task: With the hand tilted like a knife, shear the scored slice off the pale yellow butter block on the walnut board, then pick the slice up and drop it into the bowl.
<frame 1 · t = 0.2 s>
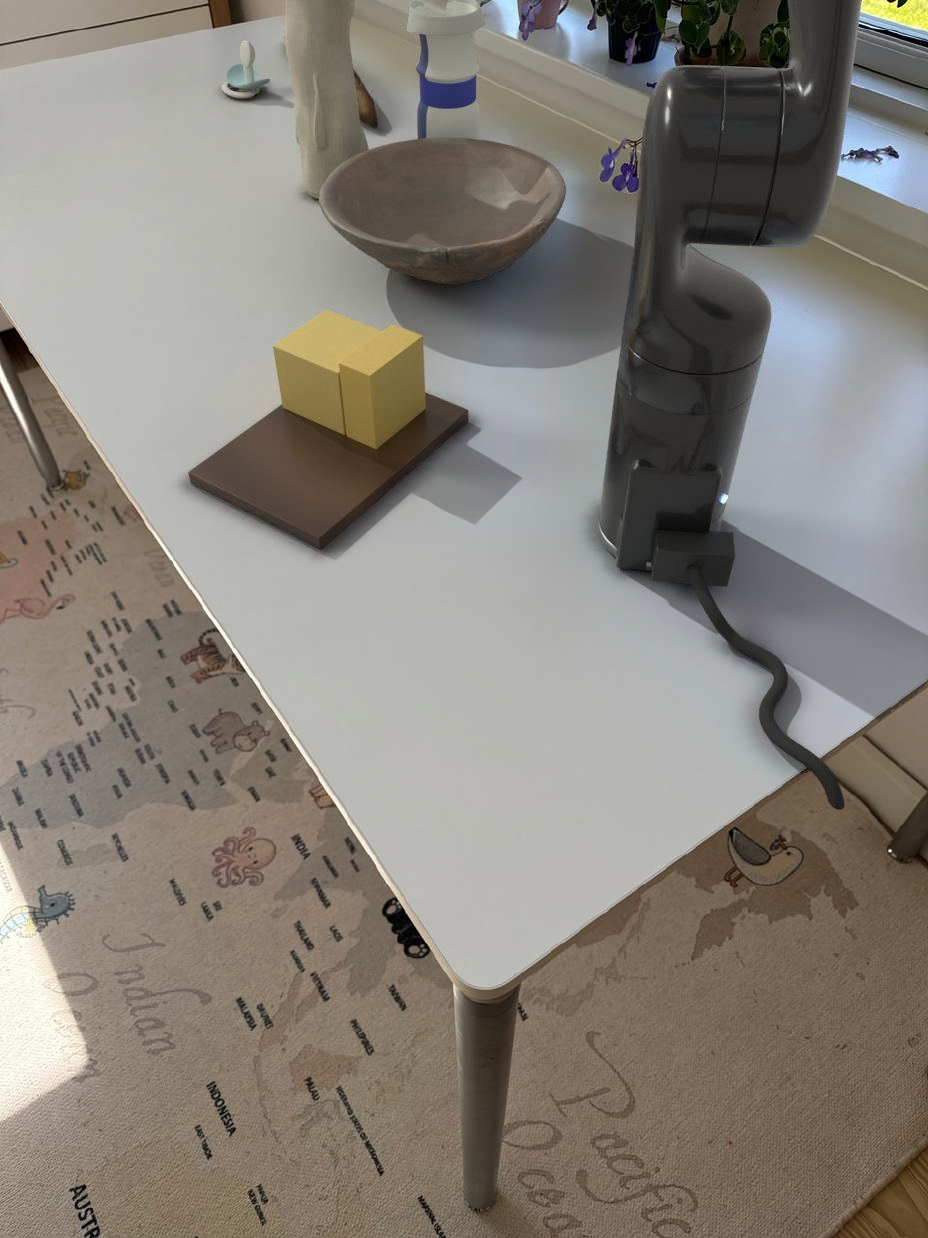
pacifier: (245, 93, 140), on the table
bowl: (444, 265, 107), on the table
water bottle: (447, 189, 119), on the table
butter block: (339, 401, 88), point 1 cm above the table, touching butter board
butter slice: (386, 422, 86), point 1 cm above the table, touching butter board
butter board: (334, 451, 85), on the table
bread: (328, 85, 142), on the table
vase: (336, 191, 119), on the table
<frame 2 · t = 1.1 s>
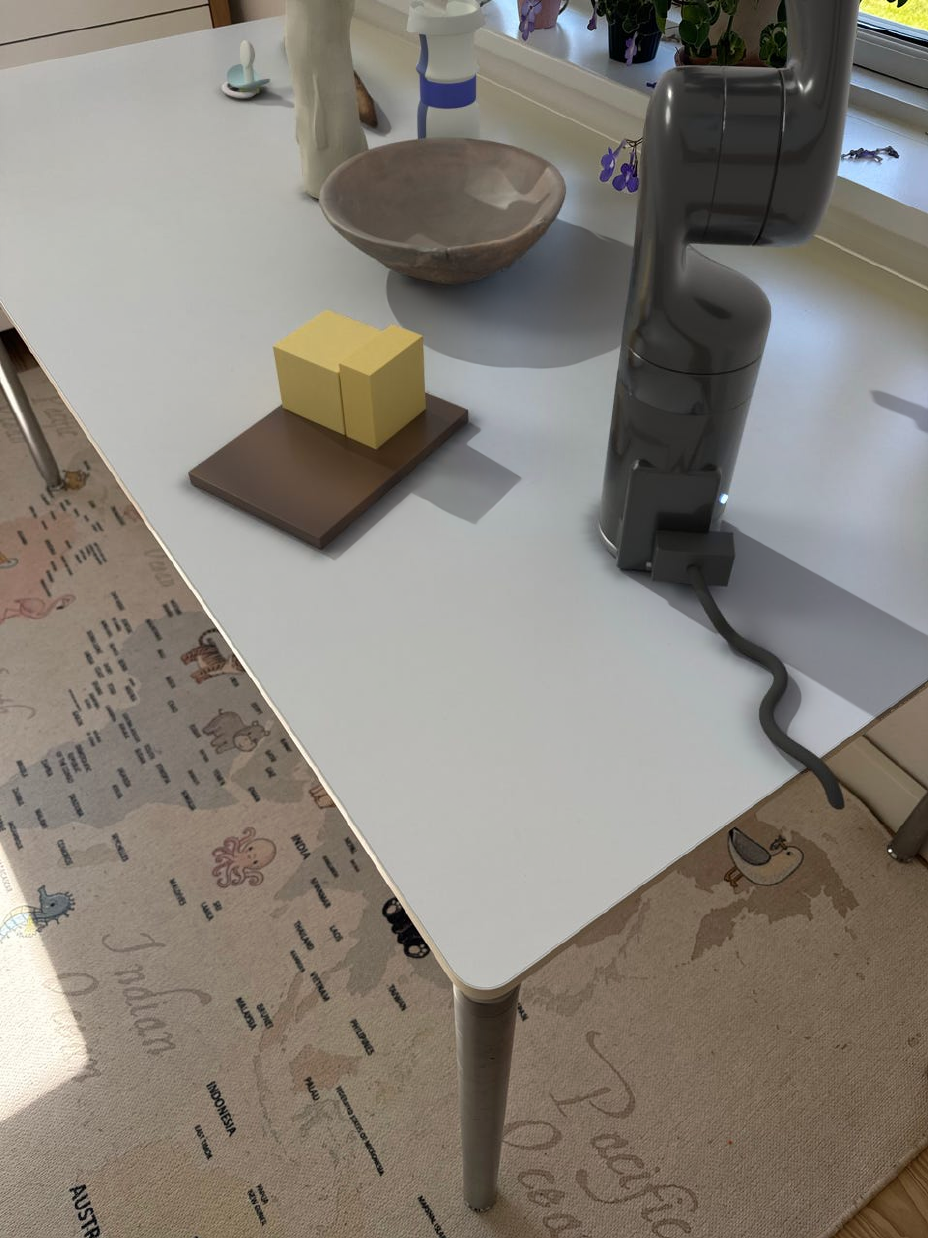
nothing on the table moved.
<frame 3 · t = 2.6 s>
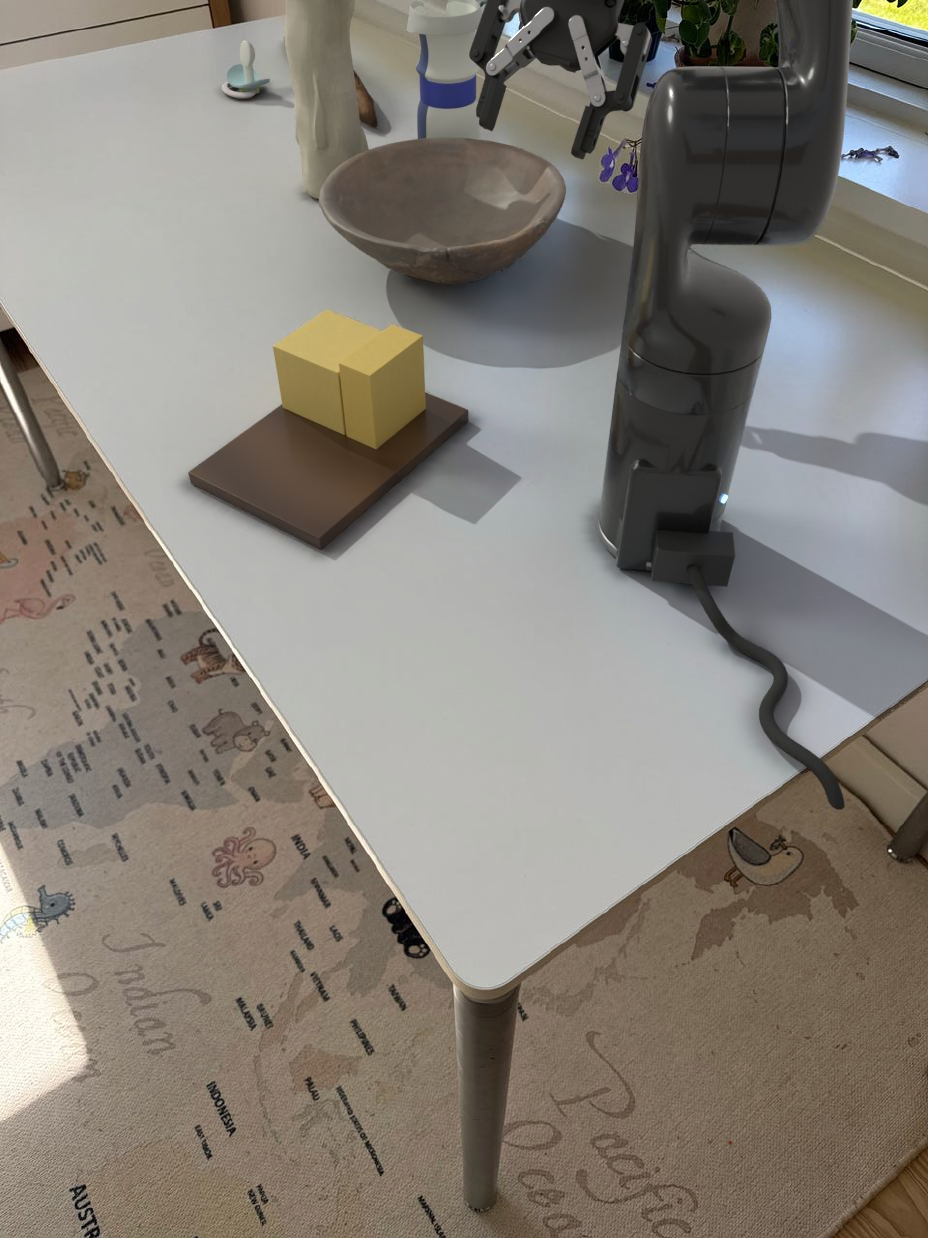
hand: (530, 142, 85), 18 cm above the table, tool tilted 30°, fingers open, 8 cm apart
nothing on the table moved.
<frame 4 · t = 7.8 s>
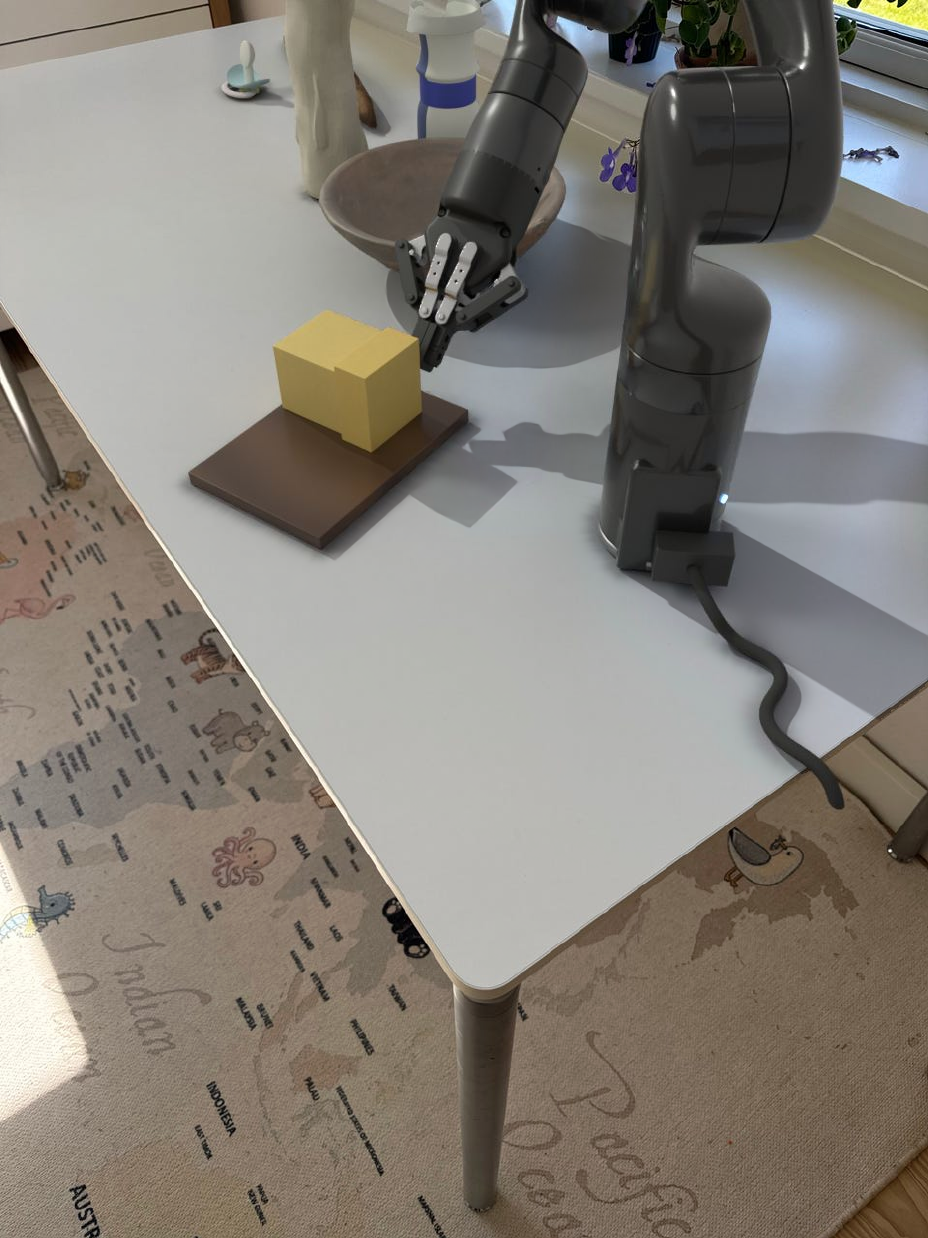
hand: (419, 367, 85), 5 cm above the table, tool tilted 45°, fingers closed
butter slice: (382, 425, 86), point 1 cm above the table, touching gripper
everything else where it was.
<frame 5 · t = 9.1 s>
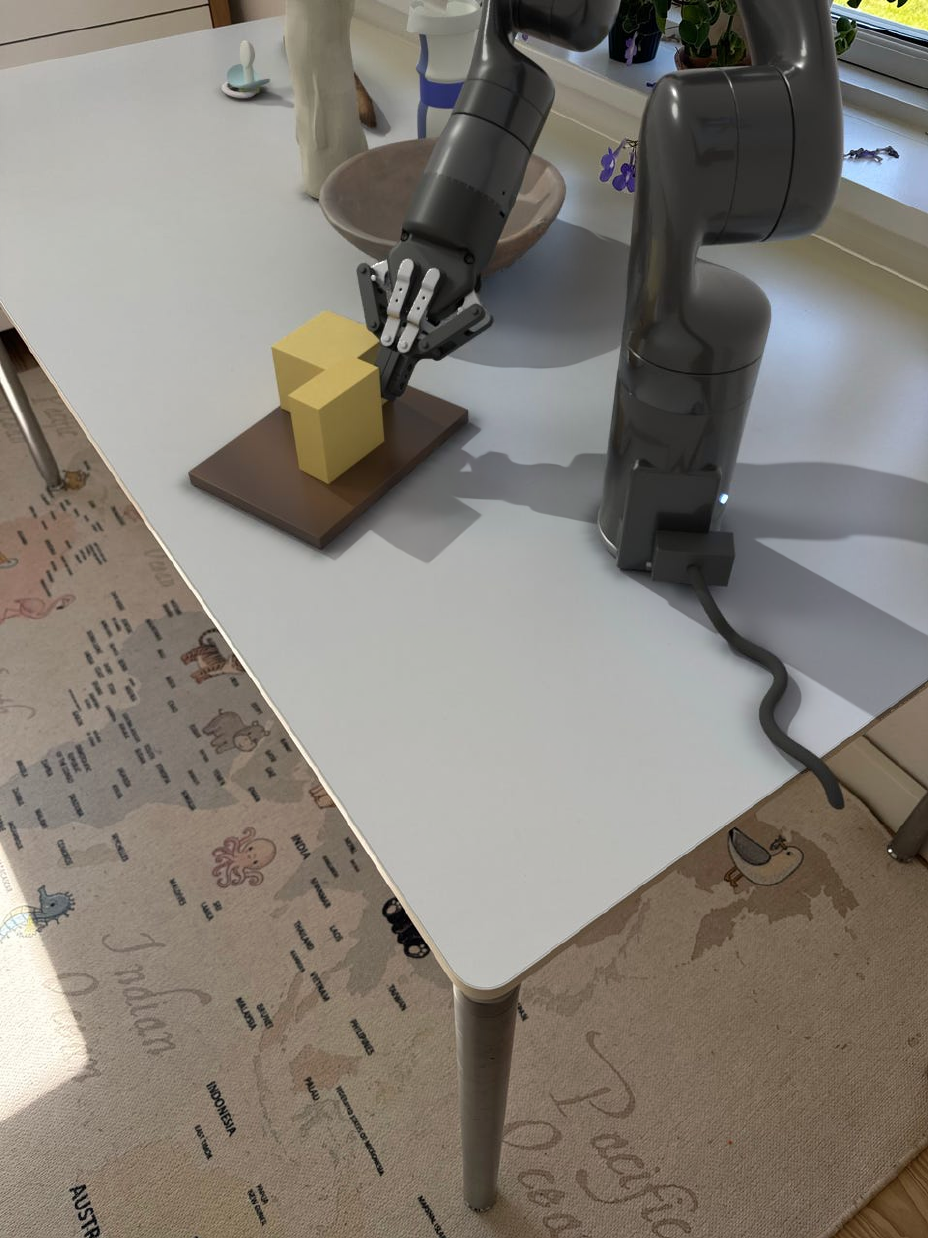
hand: (381, 396, 82), 5 cm above the table, tool tilted 45°, fingers closed
butter block: (337, 402, 88), point 1 cm above the table, touching butter board, hand
butter slice: (342, 455, 83), point 1 cm above the table, touching butter board, gripper
everything else where it was.
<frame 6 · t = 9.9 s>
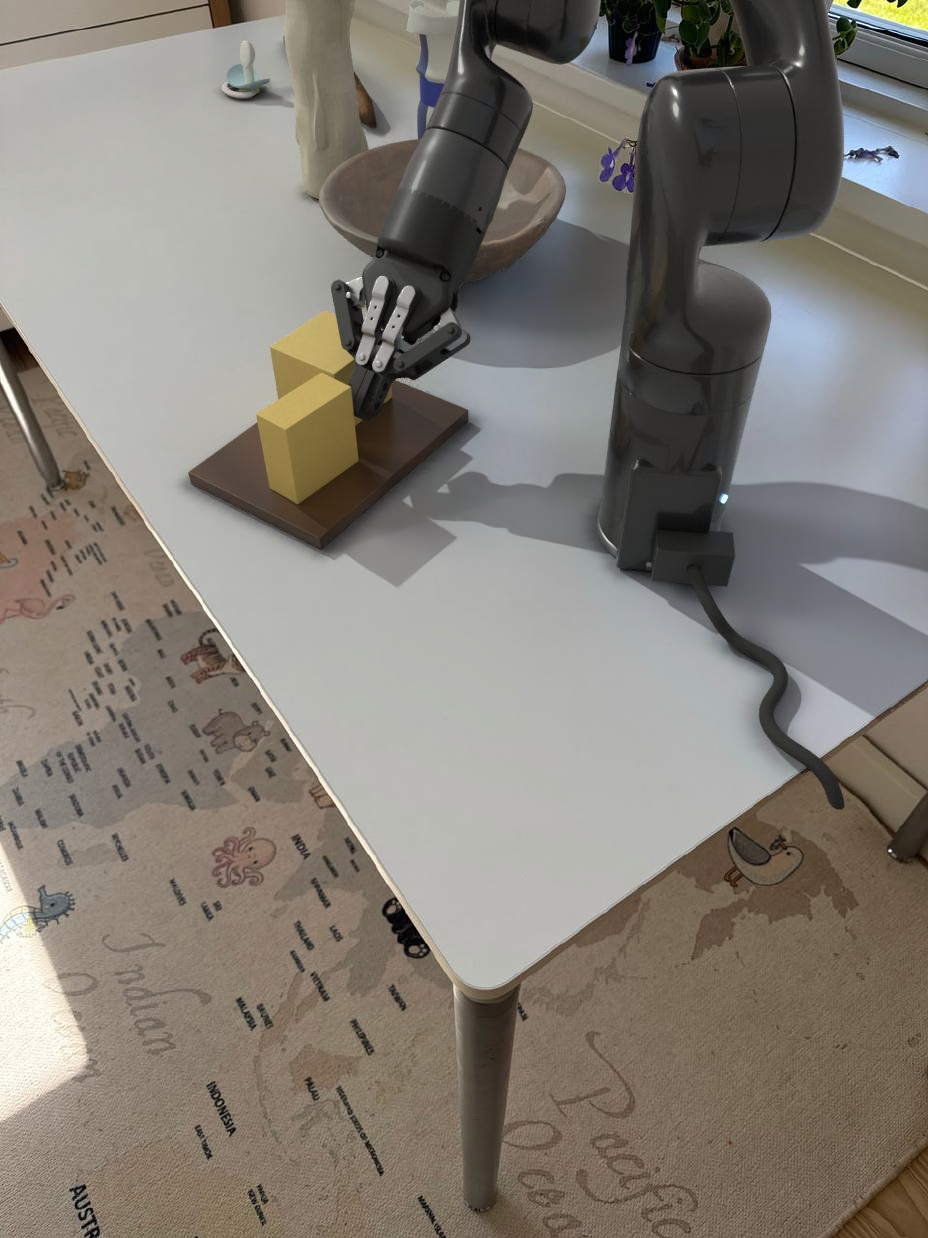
hand: (356, 416, 80), 5 cm above the table, tool tilted 45°, fingers closed
butter block: (336, 403, 88), point 1 cm above the table, touching butter board
butter slice: (314, 474, 81), point 1 cm above the table, touching butter board, gripper
everything else where it was.
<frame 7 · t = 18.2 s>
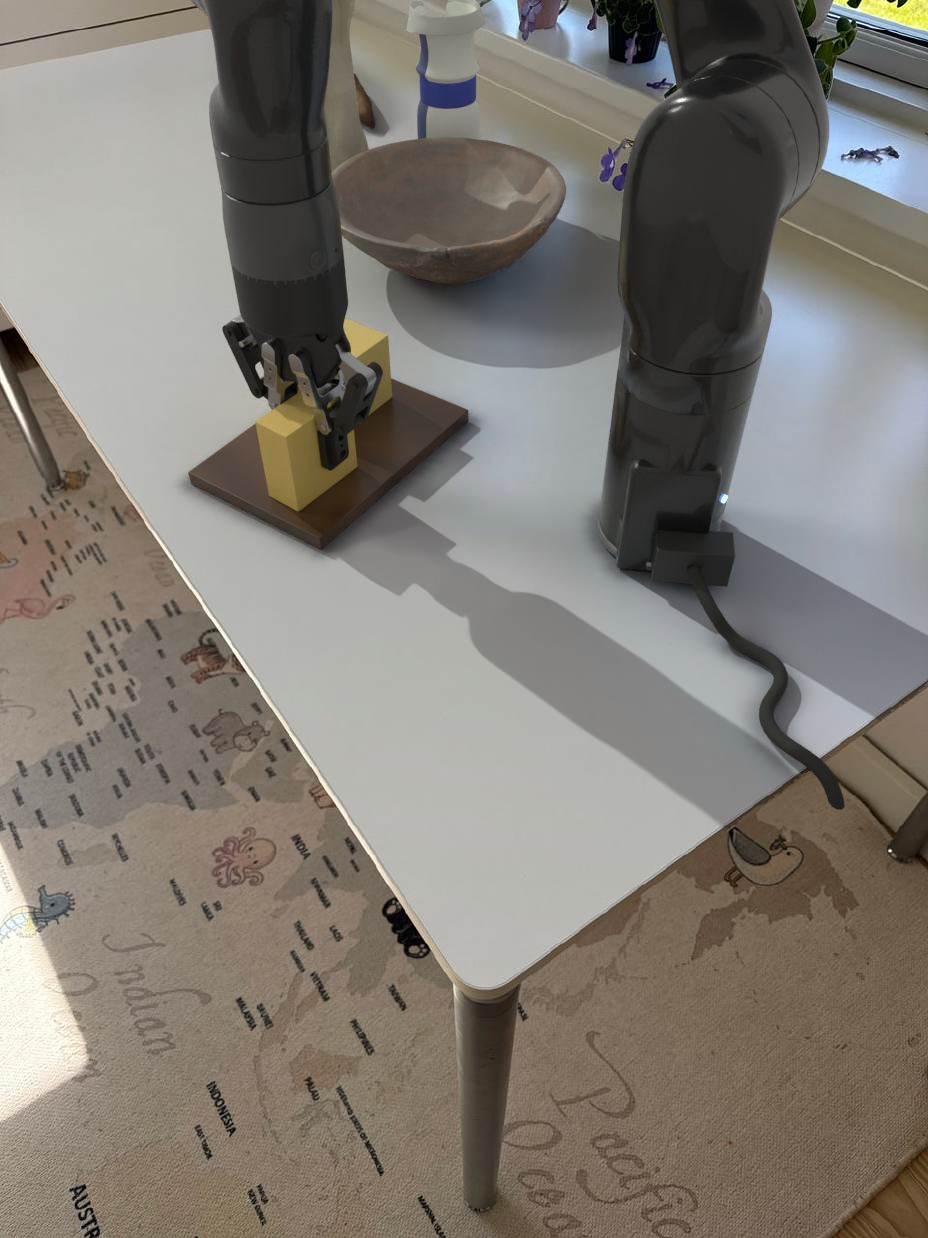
hand: (315, 454, 79), 4 cm above the table, tool pointing down, fingers closed on butter slice, 3 cm apart
butter slice: (314, 481, 81), point 1 cm above the table, touching butter board, gripper
everything else where it was.
when the fingers open (11 cm above the table, at t = 24.9 s): butter slice stays where it is, resting on bowl.
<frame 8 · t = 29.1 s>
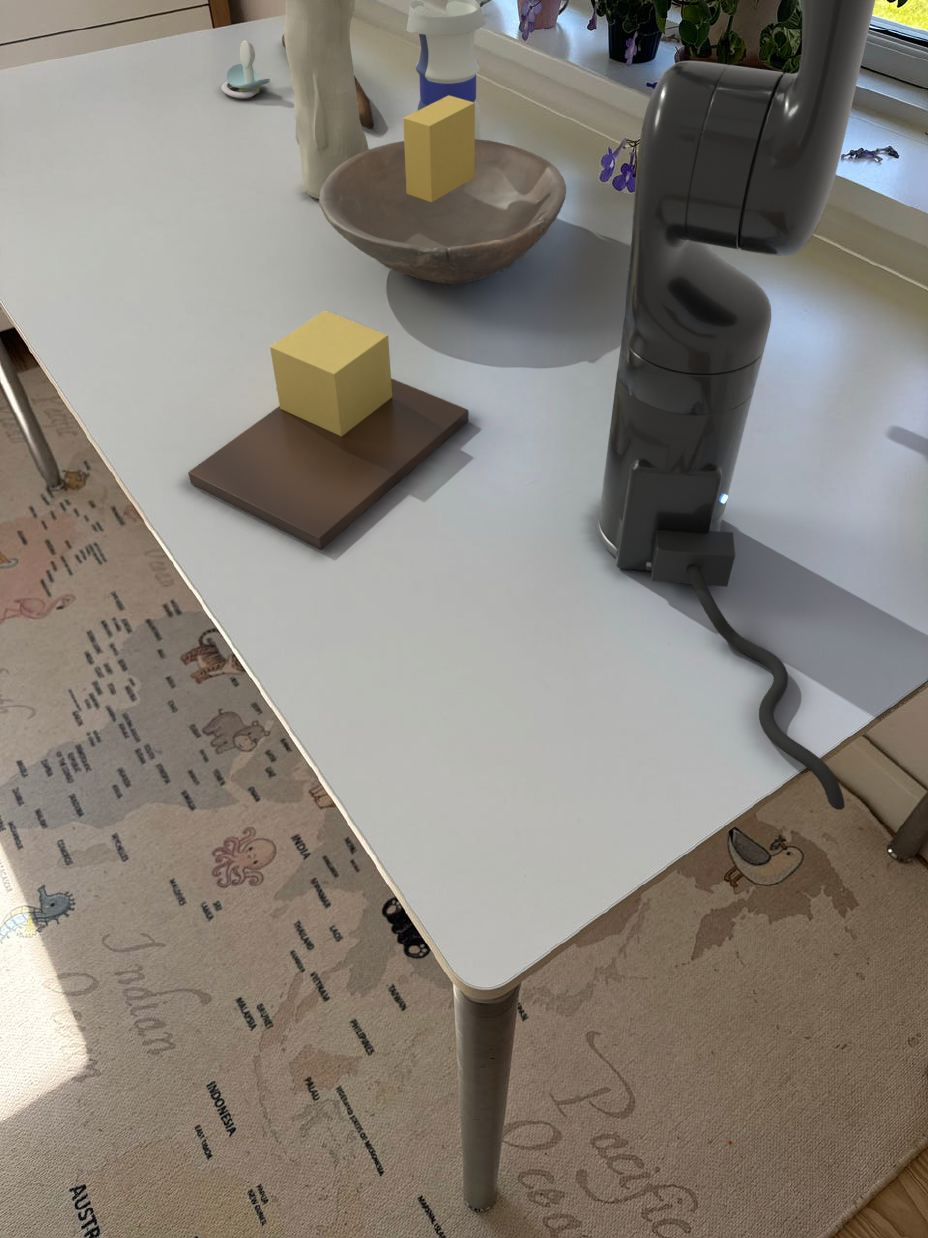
bowl: (444, 265, 107), on the table, touching butter slice
butter slice: (440, 185, 101), point 9 cm above the table, touching bowl
everything else where it was.
at the end: butter slice inside the target area in the bowl (0.4 cm from its centre), point 8.8 cm above the bowl's base; butter block moved 0.3 cm from its start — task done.
